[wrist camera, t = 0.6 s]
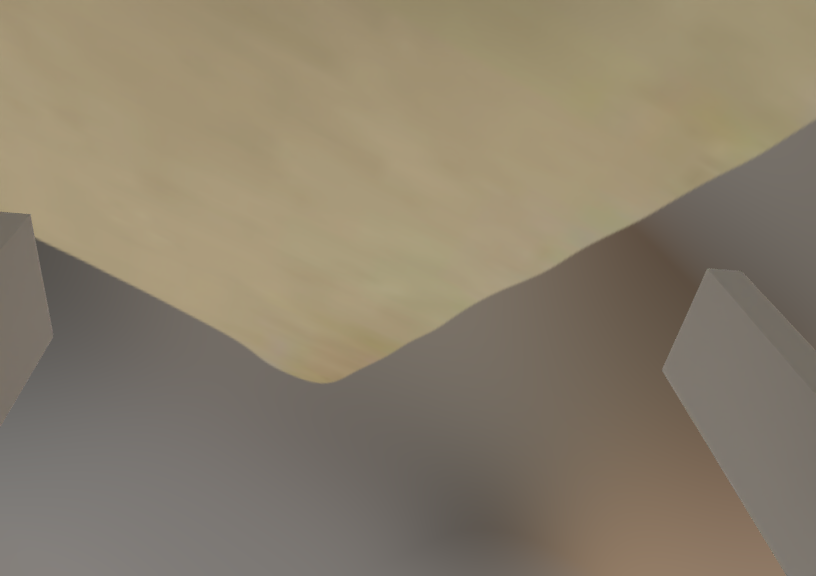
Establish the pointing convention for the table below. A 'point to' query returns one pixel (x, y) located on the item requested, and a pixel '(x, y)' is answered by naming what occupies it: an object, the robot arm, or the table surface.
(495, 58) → the table surface
